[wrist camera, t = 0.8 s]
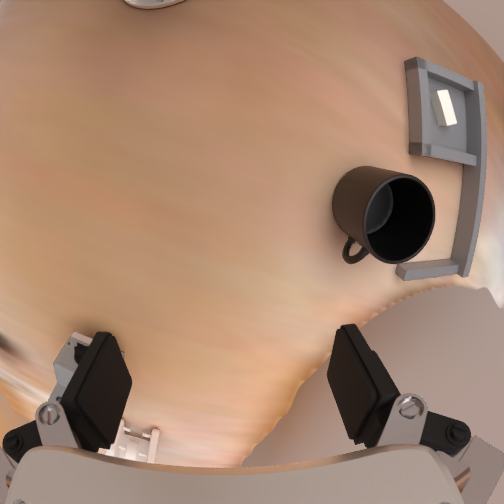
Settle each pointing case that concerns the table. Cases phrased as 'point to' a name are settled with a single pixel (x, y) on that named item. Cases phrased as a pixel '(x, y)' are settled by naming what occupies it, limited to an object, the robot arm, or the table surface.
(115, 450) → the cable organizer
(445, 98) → the eraser
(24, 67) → the table surface
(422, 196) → the mug
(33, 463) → the robot arm
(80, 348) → the circuit breaker
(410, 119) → the organizer
